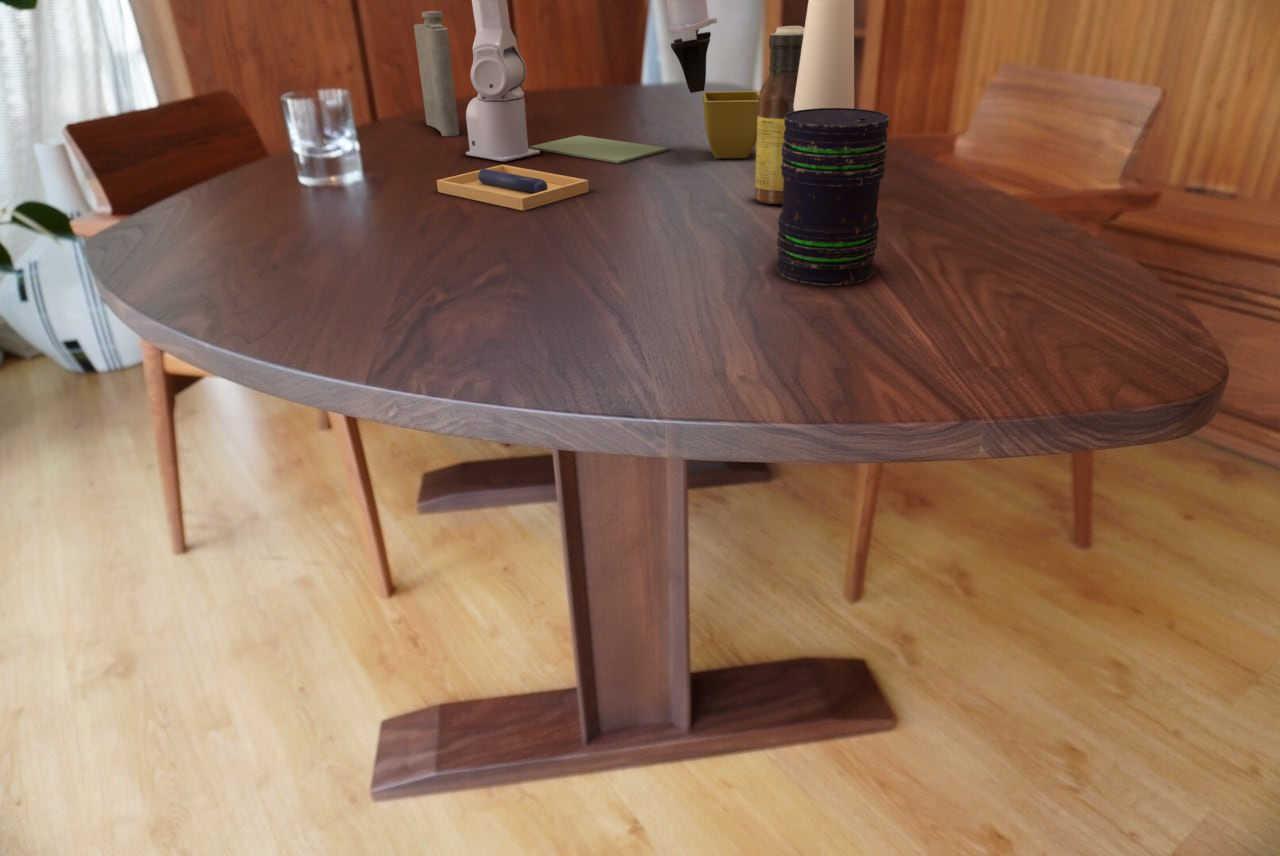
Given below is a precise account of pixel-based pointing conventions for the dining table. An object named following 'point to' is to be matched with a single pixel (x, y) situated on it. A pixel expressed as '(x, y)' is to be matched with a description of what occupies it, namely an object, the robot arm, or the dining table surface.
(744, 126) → the flower pot
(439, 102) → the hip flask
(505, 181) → the pen
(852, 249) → the black cylinder
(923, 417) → the dining table surface
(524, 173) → the tray
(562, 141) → the mat
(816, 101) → the cream tapered cone
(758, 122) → the sauce bottle
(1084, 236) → the dining table surface
